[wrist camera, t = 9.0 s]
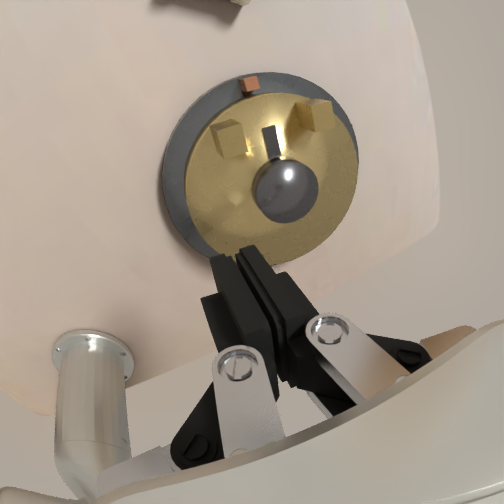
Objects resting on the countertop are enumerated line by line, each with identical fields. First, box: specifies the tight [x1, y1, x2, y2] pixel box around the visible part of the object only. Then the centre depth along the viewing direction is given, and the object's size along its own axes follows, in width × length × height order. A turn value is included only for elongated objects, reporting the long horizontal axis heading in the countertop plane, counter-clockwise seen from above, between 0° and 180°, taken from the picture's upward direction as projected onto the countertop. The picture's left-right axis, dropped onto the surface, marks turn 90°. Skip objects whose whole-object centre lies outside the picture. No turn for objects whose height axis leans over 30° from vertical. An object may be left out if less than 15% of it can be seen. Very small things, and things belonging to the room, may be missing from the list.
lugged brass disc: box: [184, 92, 358, 265], centre depth 29 cm, size 18×18×6 cm
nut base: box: [162, 72, 359, 266], centre depth 31 cm, size 22×22×3 cm
